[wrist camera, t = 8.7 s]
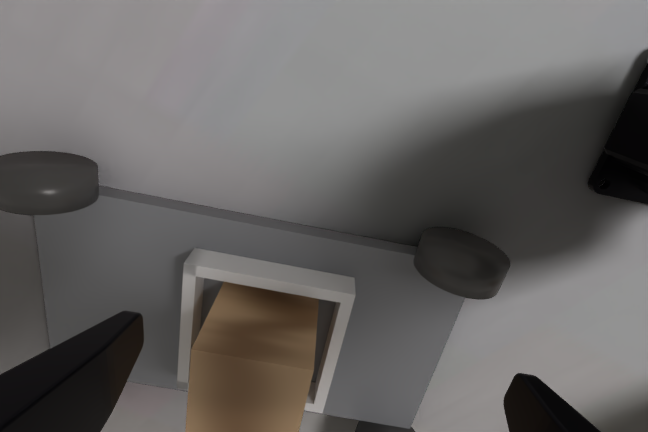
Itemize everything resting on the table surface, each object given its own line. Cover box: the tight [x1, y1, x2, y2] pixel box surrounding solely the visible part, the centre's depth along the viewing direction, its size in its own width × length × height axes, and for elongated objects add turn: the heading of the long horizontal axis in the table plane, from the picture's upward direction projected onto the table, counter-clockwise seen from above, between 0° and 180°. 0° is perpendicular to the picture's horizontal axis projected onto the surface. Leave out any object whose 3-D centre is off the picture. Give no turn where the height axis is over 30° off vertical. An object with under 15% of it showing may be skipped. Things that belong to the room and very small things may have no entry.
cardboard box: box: [185, 282, 319, 432], centre depth 19 cm, size 5×5×5 cm
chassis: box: [0, 151, 510, 432], centre depth 20 cm, size 23×15×4 cm, turn 79°
